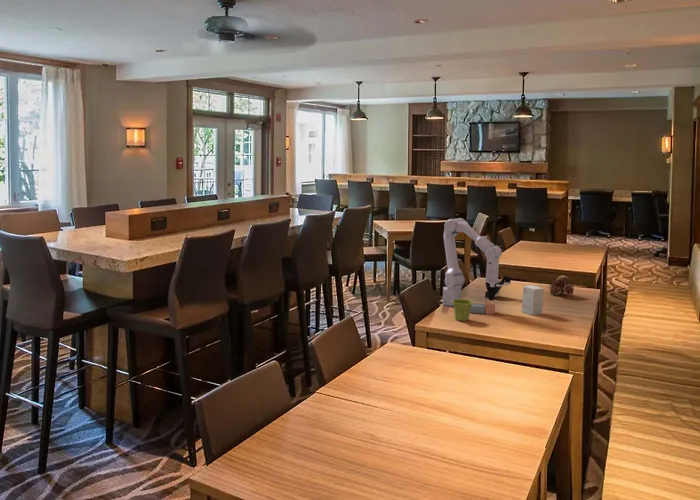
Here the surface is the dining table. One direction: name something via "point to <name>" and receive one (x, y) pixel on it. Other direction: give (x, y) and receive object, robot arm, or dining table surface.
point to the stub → (489, 307)
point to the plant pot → (462, 309)
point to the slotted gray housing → (477, 308)
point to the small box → (532, 300)
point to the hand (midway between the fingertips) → (490, 298)
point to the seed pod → (561, 286)
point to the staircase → (500, 285)
